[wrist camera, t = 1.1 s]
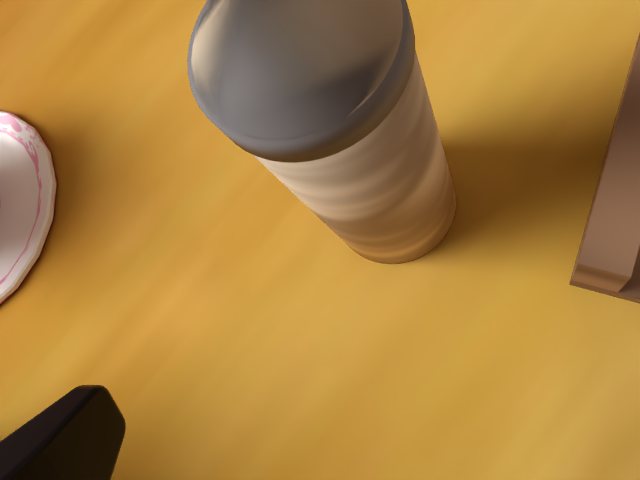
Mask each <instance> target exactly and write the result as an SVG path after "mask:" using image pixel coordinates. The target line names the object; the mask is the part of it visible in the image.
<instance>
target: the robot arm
mask: <svg viewBox="0 0 640 480" xmlns="http://www.w3.org/2000/svg"><path fill="white" fill-rule="evenodd" d="M125 429H126V426H125V419H124V417H123V415H122V413H121V412H120V410H119V408H118V406H117V405H116V403H115V401H114V400H113V398H112V396H111V394H110V393H109V391H108V390H107V388H105V387H104V386H101V385H81V386H78V387H76V388H74V389H73V390H72V391H70V392H69V393H67V394H66V395H65V396H63V397H62V398H60V399H59V400H58V401H56V402H55V403H53V404H52V405H51V406H49V407H48V408H47V409H45V410H44V411H42V412H41V413H40V414H38V415H37V416H35V417H34V418H33V419H31V420H30V421H28V422H27V423H26V424H24V425H23V426H21V427H20V428H19V429H17V430H16V431H15V432H13V433H12V434H10V435H9V436H8V437H6V438H5V439H3V440H2V441H1V442H0V480H111V476H112V473H113V470H114V467H115V464H116V461H117V457H118V454H119V451H120V448H121V445H122V442H123V438H124V435H125Z"/></svg>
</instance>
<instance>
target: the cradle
mask: <svg viewBox="0 0 640 480" xmlns="http://www.w3.org/2000/svg"><path fill="white" fill-rule="evenodd" d="M569 285H573V286H577V287H581V288H584V289H588V290H592V291H596V292H599V293H603V294H607V295H610V296H614V297H618V298H622V299H625V300H629V301H633V302H637V303H640V34H639V37H638V40H637V44H636V47H635V51H634V55H633V58H632V62H631V65H630V69H629V72H628V76H627V80H626V83H625V87H624V90H623V94H622V98H621V101H620V105H619V108H618V112H617V115H616V119H615V123H614V126H613V130H612V133H611V137H610V141H609V144H608V148H607V151H606V155H605V158H604V162H603V166H602V169H601V173H600V176H599V180H598V184H597V187H596V191H595V194H594V198H593V202H592V205H591V209H590V212H589V216H588V219H587V223H586V227H585V230H584V234H583V237H582V241H581V245H580V248H579V252H578V255H577V259H576V262H575V266H574V270H573V273H572V277H571V280H570V284H569Z"/></svg>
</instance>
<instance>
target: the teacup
mask: <svg viewBox="0 0 640 480" xmlns="http://www.w3.org/2000/svg"><path fill="white" fill-rule="evenodd" d="M56 185H57V183H56V178H55V173H54V167H53V162H52V157H51V153H50V151H49V149H48V148H47V146H46V144H45V143H44V141H43V140H42V138H41V136H40V135H39V133H38V131H37V130H36V129H35V128H33V127H32V126H31V125H29V124H28V123H26V122H25V121H23V120H22V119H20V118H19V117H17V116H16V115H14V114H12V113H9V112H3V111H0V203H1V205H0V304H1V303H2V302H3V301H4V300H5V299H6V298H7V297H8V296H10V295H11V294H12V293H13V292H14V291H15V290H16V289H17V288H18V287H19V286H20V284H21V283H22V281H23V280H24V278H25V277H26V275H27V274H28V272H29V271H30V269H31V268H32V266H33V265H34V263H35V262H36V260H37V259H38V257H39V256H40V253H41V250H42V248H43V245H44V242H45V240H46V237H47V234H48V232H49V229H50V226H51V223H52V221H53V215H54V205H55V195H56Z"/></svg>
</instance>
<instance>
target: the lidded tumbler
mask: <svg viewBox="0 0 640 480" xmlns="http://www.w3.org/2000/svg"><path fill="white" fill-rule="evenodd" d="M187 61H188V76H189V81H190V86H191V89H192V92H193V95H194V97H195V99H196V101H197V103H198V105H199V107H200V108H201V110H202V111H203V112H204V114H205V115H206V116H207V118H208V119H209V120H210V121H211V122H213V123H214V124H215V125H216V126H217V127H218V128H219V129H220V130H221V131H222V132H223V133H224V134H225V135H226V136H227V137H229V138H230V139H231V140H232V141H233V142H234V143H235V144H236V145H238V146H239V147H241V148H242V149H243V150H245V151H247V152H249V153H251V154H253V155H254V156H255V157H256V158H257V159H258V160H259V161H260V162H261V163H262V164H263V165H264V166H265V167H266V168H267V169H268V170H269V171H271V172H272V173H273V174H274V175H275V176H276V177H277V178H278V179H279V180H280V181H281V182H282V183H283V184H284V185H285V186H286V187H287V188H288V189H289V190H290V191H292V192H293V193H294V194H295V195H296V196H297V197H298V198H299V199H300V200H301V201H302V202H303V203H304V204H305V205H306V206H307V207H308V208H309V209H310V210H312V211H313V212H314V213H315V214H316V215H317V216H318V217H319V218H320V219H321V220H322V221H323V222H324V223H325V224H326V225H327V226H328V227H329V228H330V229H331V230H333V231H334V232H335V233H336V234H337V235H338V236H339V237H340V238H341V239H342V240H343V241H344V242H345V243H346V244H347V245H348V246H349V247H350V248H351V249H352V250H354V251H355V252H356V253H358V254H359V255H360V256H362V257H364V258H366V259H368V260H371V261H374V262H378V263H384V264H399V263H405V262H409V261H412V260H415V259H417V258H419V257H422V256H423V255H425V254H427V253H428V252H430V251H431V250H432V249H433V248H435V247H436V246H437V245H438V244H439V243H440V242H441V241H442V239H443V238H444V237H445V235H446V234H447V232H448V230H449V229H450V227H451V224H452V222H453V219H454V215H455V211H456V192H455V187H454V184H453V180H452V177H451V173H450V170H449V166H448V163H447V159H446V156H445V152H444V149H443V145H442V142H441V138H440V135H439V131H438V128H437V124H436V121H435V117H434V114H433V110H432V107H431V103H430V100H429V96H428V93H427V89H426V86H425V82H424V79H423V75H422V72H421V68H420V65H419V61H418V58H417V54H416V51H415V35H414V29H413V24H412V20H411V16H410V13H409V9H408V5H407V2H406V0H208V1H207V2H206V4H205V5H204V7H203V9H202V10H201V13H200V15H199V17H198V19H197V21H196V23H195V26H194V29H193V32H192V35H191V39H190V44H189V49H188V60H187Z"/></svg>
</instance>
